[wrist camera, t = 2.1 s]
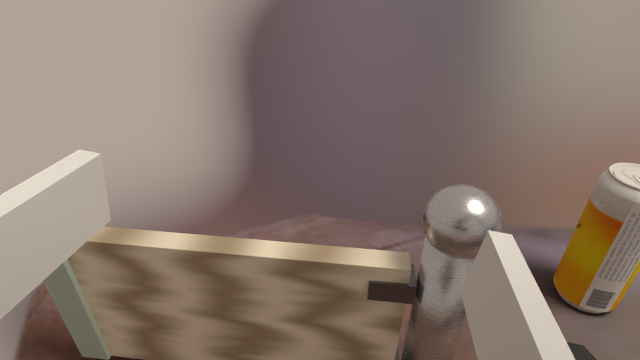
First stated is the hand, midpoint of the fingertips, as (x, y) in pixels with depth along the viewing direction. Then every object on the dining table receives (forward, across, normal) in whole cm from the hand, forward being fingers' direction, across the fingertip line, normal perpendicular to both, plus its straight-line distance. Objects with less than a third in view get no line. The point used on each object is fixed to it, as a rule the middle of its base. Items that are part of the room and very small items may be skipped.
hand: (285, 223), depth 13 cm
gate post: (+10, +11, -22) cm, 27 cm away
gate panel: (+10, -4, -22) cm, 24 cm away
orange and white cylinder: (+24, +30, -19) cm, 43 cm away
